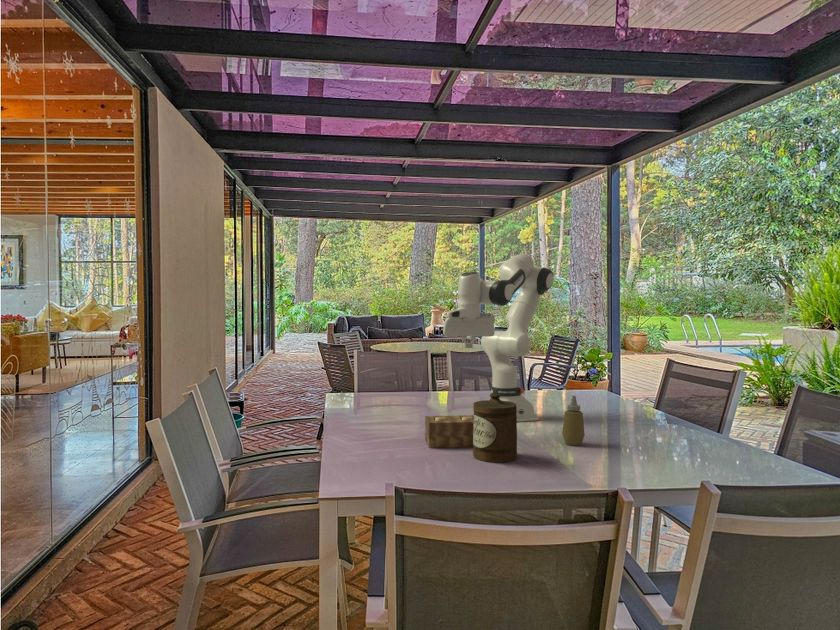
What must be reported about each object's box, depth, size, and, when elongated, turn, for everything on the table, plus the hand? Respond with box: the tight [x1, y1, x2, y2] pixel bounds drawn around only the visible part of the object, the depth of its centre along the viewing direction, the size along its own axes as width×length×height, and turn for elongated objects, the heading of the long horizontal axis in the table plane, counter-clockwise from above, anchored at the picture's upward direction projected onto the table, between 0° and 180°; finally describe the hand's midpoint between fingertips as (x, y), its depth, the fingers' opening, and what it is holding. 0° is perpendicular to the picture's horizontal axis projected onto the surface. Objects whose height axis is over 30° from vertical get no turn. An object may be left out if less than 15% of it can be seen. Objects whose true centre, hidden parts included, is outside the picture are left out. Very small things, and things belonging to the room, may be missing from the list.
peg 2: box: [462, 417, 473, 420], centre depth 215 cm, size 4×4×8 cm
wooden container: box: [472, 392, 518, 463], centre depth 197 cm, size 15×15×22 cm
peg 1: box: [435, 417, 446, 421], centre depth 214 cm, size 4×4×8 cm
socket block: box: [424, 414, 474, 449], centre depth 215 cm, size 20×12×9 cm, turn 96°
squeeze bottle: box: [561, 395, 585, 447], centre depth 214 cm, size 8×8×18 cm
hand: (468, 347), depth 229 cm, fingers closed
